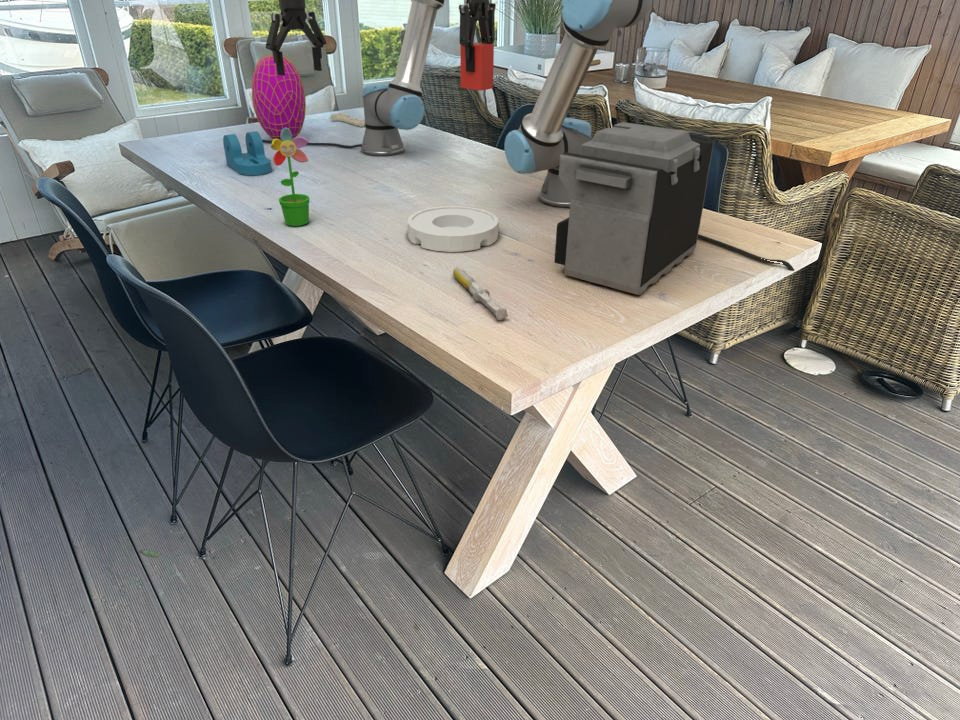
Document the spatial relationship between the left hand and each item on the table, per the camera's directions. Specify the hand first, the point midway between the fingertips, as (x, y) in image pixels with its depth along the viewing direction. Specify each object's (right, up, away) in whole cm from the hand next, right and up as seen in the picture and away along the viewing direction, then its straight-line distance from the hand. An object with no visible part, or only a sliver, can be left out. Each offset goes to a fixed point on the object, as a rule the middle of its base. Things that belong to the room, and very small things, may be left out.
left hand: (300, 72), depth 209 cm
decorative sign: (-2, +15, +87) cm, 88 cm away
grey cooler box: (+89, -65, -47) cm, 120 cm away
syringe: (+54, -74, -64) cm, 112 cm away
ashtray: (+48, -55, -32) cm, 80 cm away
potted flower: (+6, -51, -25) cm, 57 cm away
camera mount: (-22, -24, +21) cm, 38 cm away
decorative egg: (-21, -3, +56) cm, 60 cm away
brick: (+54, -8, -8) cm, 55 cm away
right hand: (+54, -4, -11) cm, 55 cm away
